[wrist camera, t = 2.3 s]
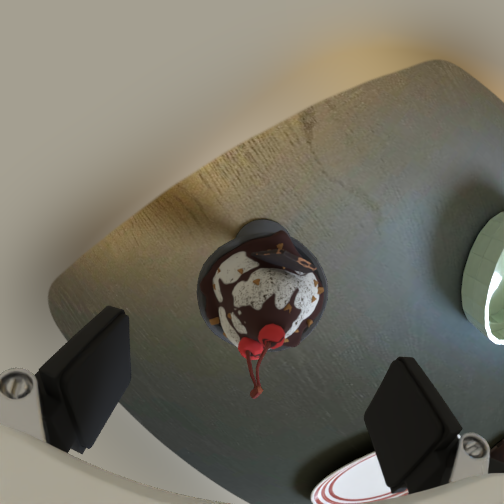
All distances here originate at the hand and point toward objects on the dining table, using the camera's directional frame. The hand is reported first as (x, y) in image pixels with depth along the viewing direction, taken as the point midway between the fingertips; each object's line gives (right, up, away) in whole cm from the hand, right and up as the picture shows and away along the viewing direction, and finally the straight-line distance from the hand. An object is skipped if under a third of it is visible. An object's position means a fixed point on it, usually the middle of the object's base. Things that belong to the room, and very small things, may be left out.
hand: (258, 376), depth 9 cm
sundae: (+1, +4, +15) cm, 16 cm away
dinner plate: (+23, -33, +24) cm, 47 cm away
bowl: (+29, +2, +14) cm, 32 cm away
